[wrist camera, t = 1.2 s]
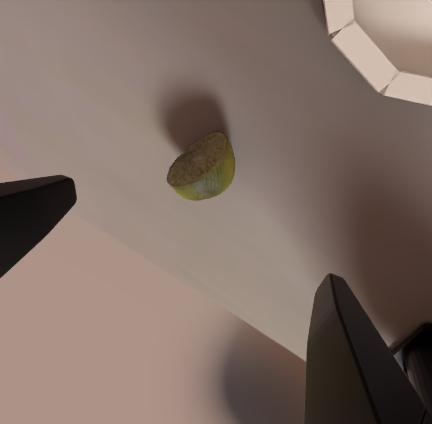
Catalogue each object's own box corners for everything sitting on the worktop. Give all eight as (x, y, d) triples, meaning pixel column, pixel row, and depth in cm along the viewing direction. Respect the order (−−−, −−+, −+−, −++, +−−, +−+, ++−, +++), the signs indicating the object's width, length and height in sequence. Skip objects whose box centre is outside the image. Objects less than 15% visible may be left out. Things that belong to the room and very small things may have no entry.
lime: (178, 165, 21) (145, 193, 17) (201, 110, 18) (167, 129, 14) (225, 193, 21) (203, 228, 17) (255, 143, 18) (237, 171, 14)
